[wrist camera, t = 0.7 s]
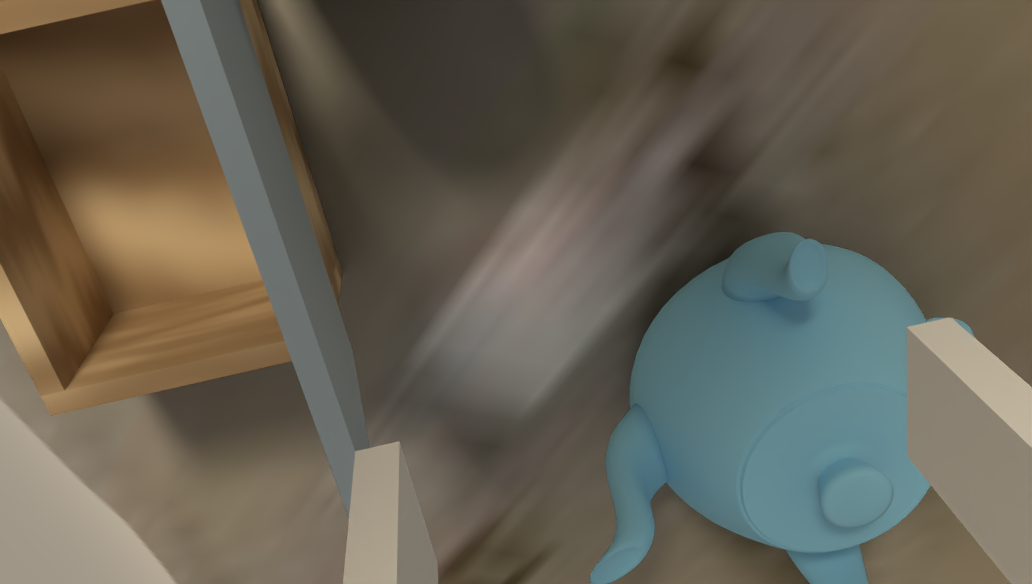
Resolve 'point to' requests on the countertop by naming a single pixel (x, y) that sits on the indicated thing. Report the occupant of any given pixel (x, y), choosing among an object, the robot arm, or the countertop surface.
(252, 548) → the countertop surface
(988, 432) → the robot arm
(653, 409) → the teapot
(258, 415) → the countertop surface
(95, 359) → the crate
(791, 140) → the countertop surface
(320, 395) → the lid
